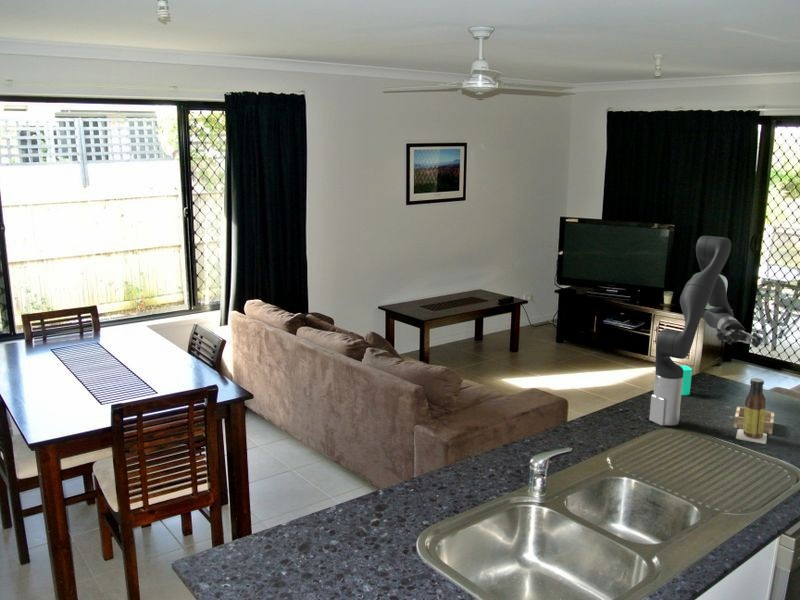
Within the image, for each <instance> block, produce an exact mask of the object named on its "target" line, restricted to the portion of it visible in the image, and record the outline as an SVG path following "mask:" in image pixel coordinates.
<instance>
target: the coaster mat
mask: <svg viewBox="0 0 800 600" xmlns="http://www.w3.org/2000/svg"><path fill="white" fill-rule="evenodd" d="M743 431H744V430H743V429H738V428H737V432H736V436H735V439H736V440H741V441H745V442H746V441H747V442H753V443H757V444H763V445H766V444H767V436H768V434H767V433H763V436H762V437H761V438H750V437H747V436H746V435H744V433H743Z"/></svg>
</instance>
